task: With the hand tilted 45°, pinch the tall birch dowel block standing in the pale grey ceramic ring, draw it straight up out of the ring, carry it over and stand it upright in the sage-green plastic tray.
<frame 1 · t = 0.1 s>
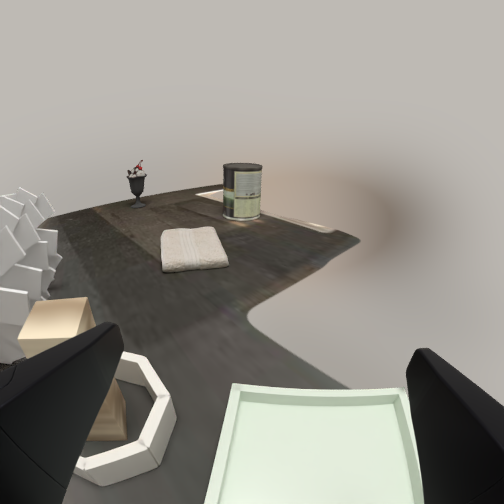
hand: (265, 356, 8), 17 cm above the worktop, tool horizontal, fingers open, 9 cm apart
tray: (320, 500, 14), on the worktop
sundae: (138, 206, 88), on the worktop
dowel block: (80, 379, 17), in the collar
coffee can: (241, 216, 79), on the worktop
spiral staircase: (18, 322, 30), on the worktop
collar: (103, 421, 20), on the worktop
washcloth: (191, 254, 56), on the worktop
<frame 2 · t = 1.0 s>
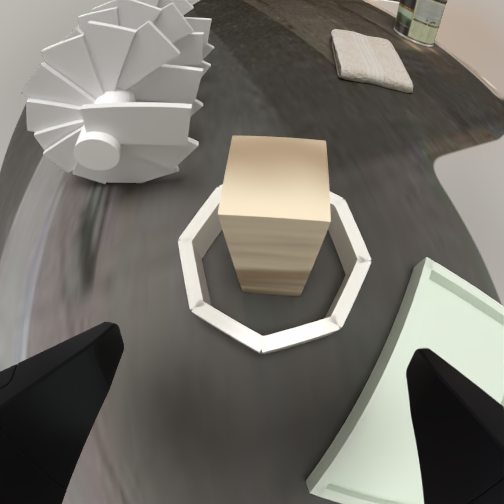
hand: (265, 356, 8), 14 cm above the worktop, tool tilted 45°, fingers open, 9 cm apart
tray: (441, 405, 17), on the worktop
dowel block: (274, 234, 18), in the collar
coffee can: (413, 37, 43), on the worktop
spiral staircase: (150, 124, 31), on the worktop
collar: (273, 267, 23), on the worktop
washcloth: (366, 63, 37), on the worktop
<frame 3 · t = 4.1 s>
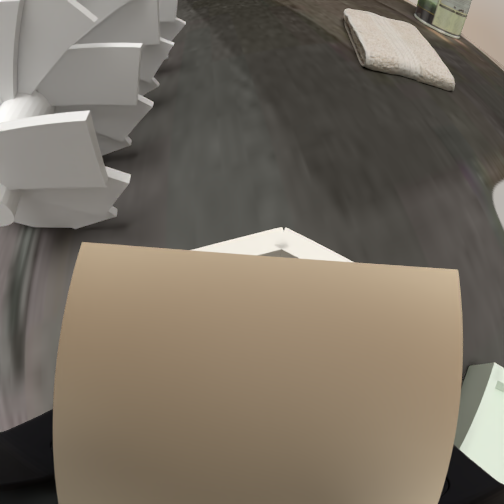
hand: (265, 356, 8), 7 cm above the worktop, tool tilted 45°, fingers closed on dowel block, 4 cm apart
dowel block: (260, 401, 8), in the collar, touching gripper
coffee can: (437, 26, 32), on the worktop
spiral staircase: (99, 134, 21), on the worktop
collar: (263, 386, 13), on the worktop
washcloth: (390, 50, 26), on the worktop
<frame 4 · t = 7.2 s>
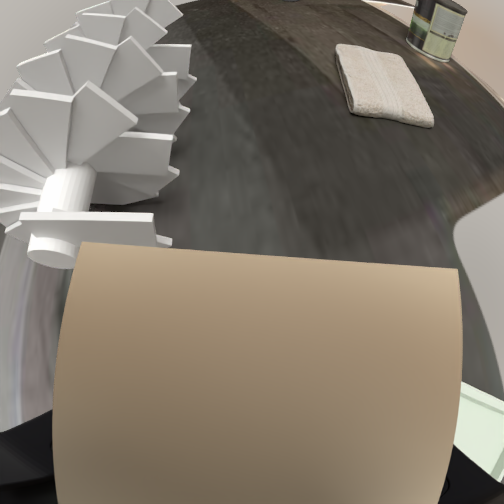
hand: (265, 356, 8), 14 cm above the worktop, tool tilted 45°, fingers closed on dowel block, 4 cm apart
tray: (425, 493, 14), on the worktop
dowel block: (260, 401, 8), point 13 cm above the worktop, touching gripper
coffee can: (427, 50, 39), on the worktop
spiral staircase: (125, 177, 28), on the worktop
washcloth: (377, 87, 33), on the worktop
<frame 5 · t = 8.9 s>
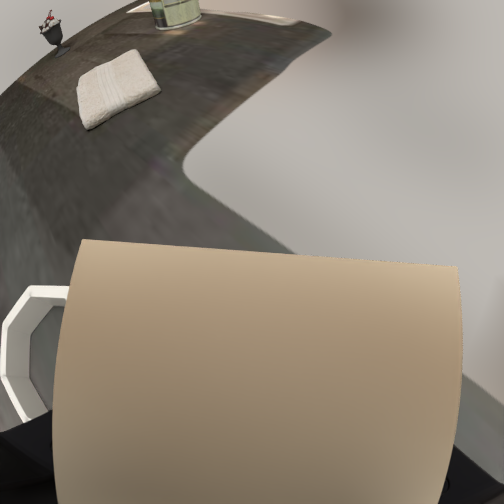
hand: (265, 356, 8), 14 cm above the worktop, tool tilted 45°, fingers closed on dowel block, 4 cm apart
sundae: (63, 52, 49), on the worktop
dowel block: (260, 400, 8), point 13 cm above the worktop, touching gripper
coffee can: (178, 22, 45), on the worktop
collar: (66, 364, 20), on the worktop
washcloth: (116, 90, 36), on the worktop
when the fingers open (9 cm above the worktop, at t = 10.3 s): dowel block drops 1 cm, resting on tray.
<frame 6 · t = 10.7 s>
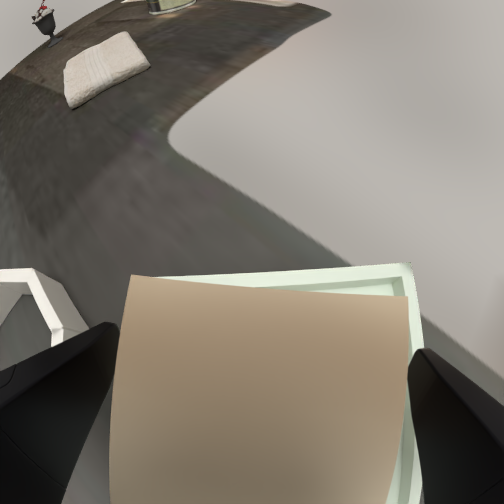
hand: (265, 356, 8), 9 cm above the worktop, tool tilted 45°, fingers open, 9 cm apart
tray: (284, 444, 14), on the worktop
sundae: (55, 42, 44), on the worktop
dowel block: (262, 394, 9), in the tray, point 7 cm above the worktop
coffee can: (172, 7, 41), on the worktop
collar: (32, 361, 16), on the worktop
washcloth: (104, 70, 32), on the worktop
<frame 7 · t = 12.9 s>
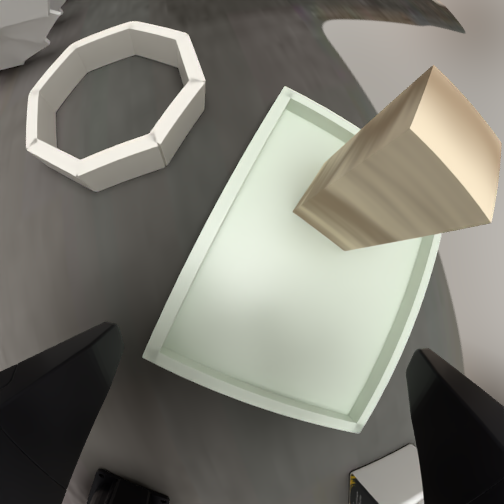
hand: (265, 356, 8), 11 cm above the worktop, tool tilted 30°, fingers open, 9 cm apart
tray: (319, 265, 20), on the worktop
dowel block: (383, 180, 13), in the tray, point 7 cm above the worktop
spiral staircase: (41, 17, 17), on the worktop
collar: (116, 107, 18), on the worktop
medicine bottle: (378, 478, 19), on the worktop
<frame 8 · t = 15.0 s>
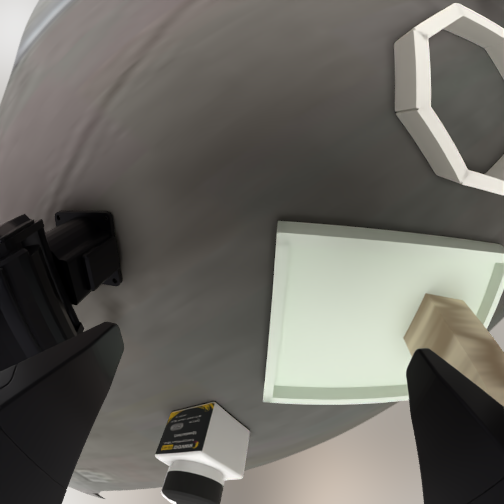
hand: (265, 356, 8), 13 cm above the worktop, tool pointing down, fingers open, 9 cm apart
tray: (387, 322, 22), on the worktop
dowel block: (462, 366, 15), in the tray, point 7 cm above the worktop
collar: (468, 99, 14), on the worktop
medicine bottle: (210, 420, 30), on the worktop
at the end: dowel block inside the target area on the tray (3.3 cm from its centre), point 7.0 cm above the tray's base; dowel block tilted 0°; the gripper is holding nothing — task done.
